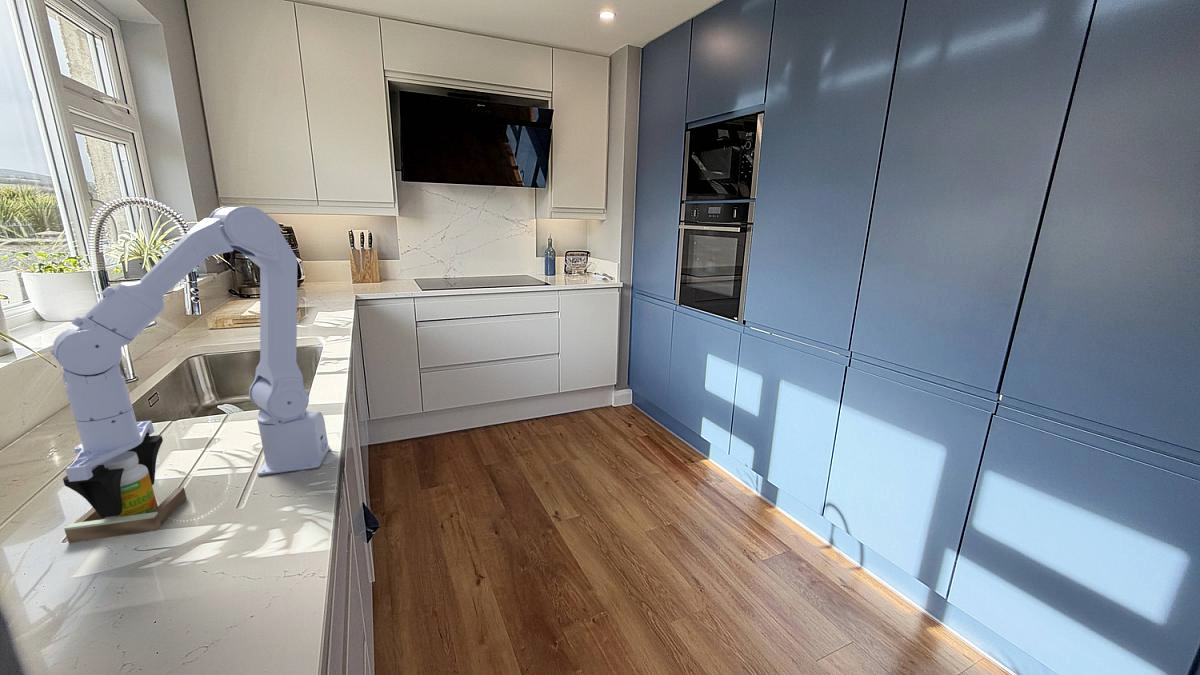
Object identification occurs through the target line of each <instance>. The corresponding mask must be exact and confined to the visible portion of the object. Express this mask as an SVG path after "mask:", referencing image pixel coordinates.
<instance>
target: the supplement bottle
mask: <svg viewBox="0 0 1200 675" xmlns="http://www.w3.org/2000/svg"><path fill="white" fill-rule="evenodd" d="M138 462H139V461H138V456H137V454H136V452H133V451H127V452H124V453H122V454H120V455H118V456H115V457H114V458H113V459H111V460H110V461H108V462H107V463H106V464H104V466H105V468H107V467H108V469H109V470H111V469H120V468H124V470H123V473H122V477H121V483H120V493H121V499H122V513H121V514H120V515H118V516H112V517H106V518H105V519H108V518H116V517H123V516H130V515H138V514H145V513H152V512H153V511H154V510H155V509H156V508H157V507H158V506H159V505H158V503H157V498H156V495H155V493H154V492H155V491H154V486H153V485H152V483H151V479H150V475H149V472H148V469H147V467H146V466H144V465H142V464H138Z"/></svg>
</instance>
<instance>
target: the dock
mask: <svg viewBox="0 0 1200 675" xmlns="http://www.w3.org/2000/svg"><path fill="white" fill-rule="evenodd" d="M187 500H188V497H187V494H186V489H185V487H178V488H175V489H174V490H173V491H172V492H171V493H170V494H169V495H168V496H167V497H166V498H165V499H164V500H163V501H162V502H161V503H160V504H159V505H157V506H158V507H157V508H156V509H155V510H154V511H153V512H152V513H145V514H138V515H130V516H123V517H116V518H108V519H107V518H106V517H104V518H101V516H100V515H99V514H98V513H97V512H96V510H95V509H94V508H93V507H91V508H90V509H89V510H87V512H86V513H84V514H83V515H81V517H79V518H78V519H77V520H75V521H74V522H73V523H69V524H67V525H66V526H65V527H64V532H65V535H66V539H67V542H68V543H69V544H72V543H77V542H78V543H79V542H86V541H91V540H98V539H107V538H111V537H112V538H114V537H119V536H126V535H134V534H140V533H147V532H154V531H158V530H159V529H160V528H161V527H162V526H163V525H164V524H165V523H166V522H167V520H169V518H170V517H171V516H172V515H173V514H174V513H175V512H176V511H177V510H178V509H179V507H181V505H183V504H184V502H185V501H187Z"/></svg>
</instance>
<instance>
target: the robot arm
mask: <svg viewBox="0 0 1200 675" xmlns="http://www.w3.org/2000/svg"><path fill="white" fill-rule="evenodd" d="M234 250H236V251H238V252H239V253H242V254H243V255H244V256H245V257H246V258H247V259H248V260H250V261H251V262H252V263H254V264H255V265H256V266H257V267H258V268H259V273H260V274H259V278H260V279H259V280H260V282H259V285H260V286H259V287H260V291H259V292H260V295H259V296H260V297H259V300H260V302H259V305H260V306H259V310H260V311H259V312H260V313H259V315H260V316H259V323H260V329H259V331H260V332H259V335H260V337H259V340H260V344H259V348H260V349H259V350H260V351H259V352H260V353H259V354H260V355H259V356H260V358H259V362H258V364H257V366H256V368H255V376H254V379H253V381H252V383H251V385H250V387H249V389H248V396H249V399H250V402H252V404H253V405H254V406H256V407H258V408H259V410H258V414H257V416H256V420H257V425H258V430H259V435H260V439H261V445H262V449H263V455H264V460H265V462H264V463H263V464H262V466H261V467H260V468H259V470H257V472H256V474H257V476H263V475H264V476H265V475H272V474H277V473H278V474H279V473H287V472H294V471H301V470H302V471H304V470H310V469H316V468H317V469H318V468H319V467H320V466H321V465H322V462H323V461H324V459H325V458H326V455H327V454H328V452H329V450H330V447H331V446H330V445H329V442H328V435H327V430H326V423H325V418H324V415H323V413H322V412H320V411H310V410H307V408H308V406H309V403H310V395H309V393H308V392H307V390H306V389H305V386H304V377H303V374H302V371H301V369H300V367H299V365H298V363H297V349H298V348H297V339H298V338H297V335H298V334H297V333H298V328H297V327H298V257H297V256H296V254H295V253H294V251H293V249H292V247H291V246H290V244H289V243H288V241H287V240H286V238H285V236H284V234H283V233H282V231H281V226H280V224H279V222H277V221H276V220H275V219H273V218H272V217H271V216H270V215H268V214H267V213H265V212H264V211H263V210H261V209H260V208H257V207H255V206H250V205H241V206H229V205H228V206H226V205H225V206H221V207H218V208H216V209H215V210H213V211H212V212H211V214H209V217H205V218H203V219H202V220H200V221H199V222H197V223H196V224H195V225H194V226H193V227H192V228H190V229H189V230H188V231H187V232H186V233H185V234H184V235H183V236H182V237H181V238H180V239H179V240H178V241H177V242H175V244H174V245H173V246H172V247H171V248H170V249H169V250H168V251H167V252H166V253H165V254H164V255H163V256H162V257H161V258H160V259H159V260H158V261H157V262H156V263H155V264H154V265H153V266H152V267H151V268H150V269H149V271H147V273H145V275H143V276H142V278H140V280H137V281H130V282H129V281H128V282H119V284H117V285H116V286H115V287H114V288H113V287H110V286H107V287H105V289H103V290H102V291H101V292H100V294H101V295H102V296H103V298H102V299H101V300H100V301H98V303H96V304H95V305H94V306H92V308H91V309H90V310H89V311H88V312H86V314H85V315H84V316H82V317H79V316H75V317H74V319H72V320H71V321H70V322H71V324H72V325H74V327H73V328H68V329H66V330H64V331H62V332H61V333H59V335H57V337H56V338H55V339H54V342H53V344H52V345H53V346H52V350H51V354H52V356H53V357H54V358H55V359H56V361H57V362H58V364H59V365H60V366H61V367H62V371H63V372H62V375H61V376H62V379H63V381H64V383H65V384H66V385H65V388H64V390H65V392H66V396H67V399H68V402H69V406H70V409H71V412H72V415H73V419H74V421H75V424H76V425H75V426H76V429H77V432H78V435H79V438H80V441H81V442H80V444H78V445H77V446H76V447H74V449H73V450H74V453H75V454H77V455H76V457H75V459H74V460H73V462H72V463H70V464H69V465H68V466H67V467H65V472H66V473H65V474H66V475H65V476H64V477H63V478H62V482H63V484H64V486H65V487H67V488H69V489H70V490H73V491H75V493H77V494H79V495H80V496H81V497H83V498H84V499H85V500H86V501H87V502H88V503H89V505H90V506H91V508H94V509H95V510H96V512H97V513H98V514H99V515H100V516H101V518H104V517H112V516H118V515H120V514H121V513H122V499H121V493H120V483H121V477H122V473H123V470H124V468H120V469H111V470H109V469H108V467H107V468H105V466H104V464H106V463H107V462H108V461H110V460H111V459H113V458H114V457H115V456H118V455H120V454H122V453H124V452H127V451H133V452H136V454H137V456H138V461H139V462H138V464H142V465H144V466H146V467H147V469H148V472H149V475H150V479H151V483H152V486H154V485H155V481H156V480H155V479H156V468H157V467H156V465H157V458H158V454H159V451H160V448H161V447H162V446H161V445H162V443H163V441H164V439H163V436H162V435H159V434H157V435H152V434H153V433H155V429H154V426H153V422H152V420H144V421H137V419H136V416H135V412H134V408H133V405H132V404H133V403H132V400H131V396H130V393H129V390H128V386H127V382H126V378H125V377H124V375H122V373H121V368H120V365H119V363H120V361H121V359H122V355H123V353H122V352H123V350H122V347H124V346H127V345H129V344H131V343H132V342H133V341H134V340H135V339H136V338H137V337H138V336H139V335H140V334H141V333H142V332H143V331H144V330H145V329H146V328H147V327H148V326H149V325H150V324H151V323H152V322H153V321H154V320H156V318H157V317H158V316H159V315H160V314H161V313H162V312H164V310H165V309H166V306H165V302H164V296H165V295H167V293H169V291H171V290H172V289H173V288H174V287H176V285H178V283H179V282H181V281H182V280H183V279H184V278H185V277H187V276H188V275H189V274H190V273H191V272H192V271H193V270H194V269H195V268H197V267H198V266H199V265H200V264H201V263H202V262H203V261H205V260H206V259H207V258H209V257H211V256H217V255H220V254H225V253H232V252H234Z"/></svg>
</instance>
